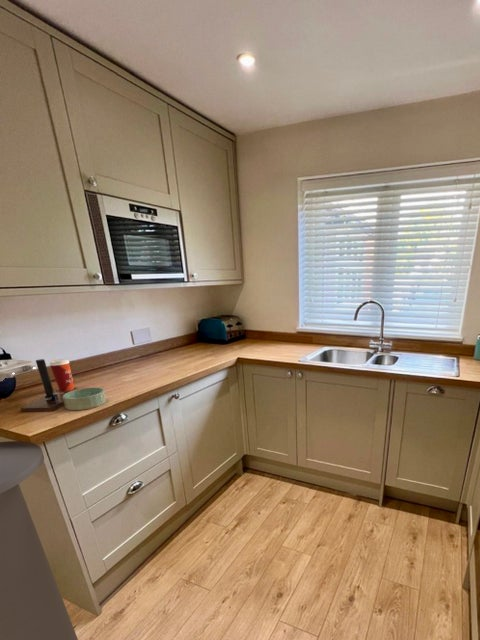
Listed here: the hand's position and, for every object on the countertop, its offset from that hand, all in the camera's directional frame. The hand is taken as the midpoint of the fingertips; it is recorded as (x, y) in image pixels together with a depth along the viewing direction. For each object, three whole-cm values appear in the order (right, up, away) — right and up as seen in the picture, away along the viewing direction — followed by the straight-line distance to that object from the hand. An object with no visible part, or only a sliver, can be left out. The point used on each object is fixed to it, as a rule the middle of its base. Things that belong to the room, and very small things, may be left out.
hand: (24, 371), depth 135 cm
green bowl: (+24, -13, +2) cm, 28 cm away
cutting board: (+9, -12, +4) cm, 16 cm away
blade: (+9, -11, +3) cm, 15 cm away
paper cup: (+3, -7, +20) cm, 21 cm away
